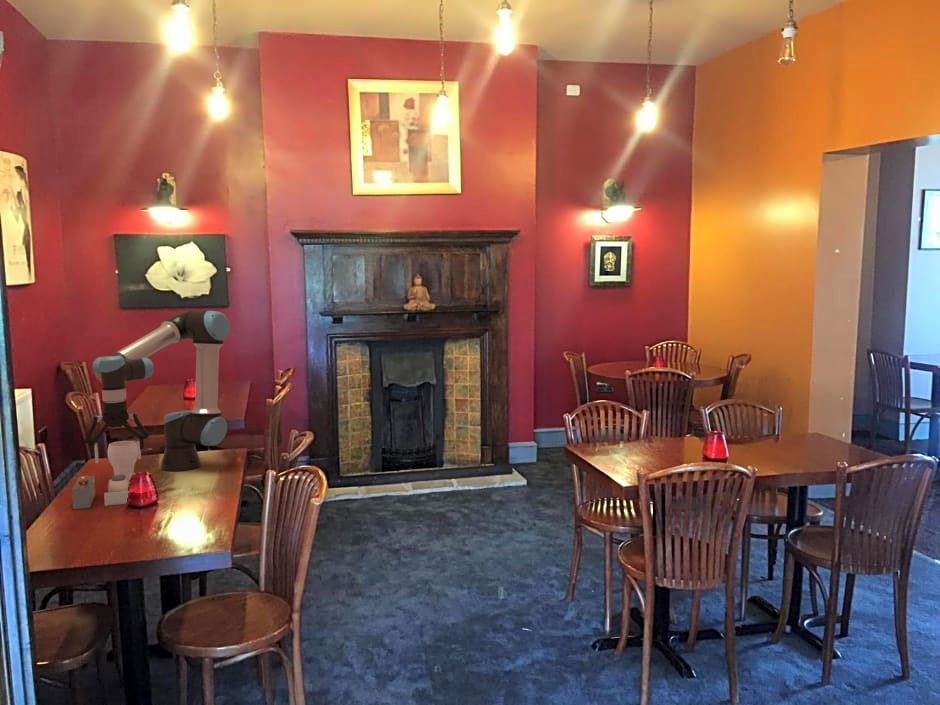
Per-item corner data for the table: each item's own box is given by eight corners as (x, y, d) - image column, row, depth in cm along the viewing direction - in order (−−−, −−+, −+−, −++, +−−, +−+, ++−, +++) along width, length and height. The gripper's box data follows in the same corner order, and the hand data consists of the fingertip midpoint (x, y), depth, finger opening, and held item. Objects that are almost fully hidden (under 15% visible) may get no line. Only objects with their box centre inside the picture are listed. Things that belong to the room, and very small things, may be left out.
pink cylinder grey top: (129, 495, 265) (128, 473, 264) (128, 500, 259) (127, 477, 258) (110, 497, 263) (109, 474, 262) (109, 502, 257) (108, 479, 256)
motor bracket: (133, 491, 270) (132, 467, 269) (130, 504, 255) (129, 478, 254) (79, 496, 264) (78, 471, 263) (73, 509, 249) (71, 483, 248)
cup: (145, 478, 287) (143, 440, 286) (129, 486, 277) (128, 447, 275) (119, 478, 288) (117, 440, 287) (103, 485, 278) (101, 446, 276)
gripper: (153, 396, 265) (157, 454, 268) (75, 401, 257) (80, 461, 259) (153, 400, 258) (156, 459, 261) (72, 405, 250) (77, 466, 252)
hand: (118, 460), depth 260 cm, fingers open, 13 cm apart
